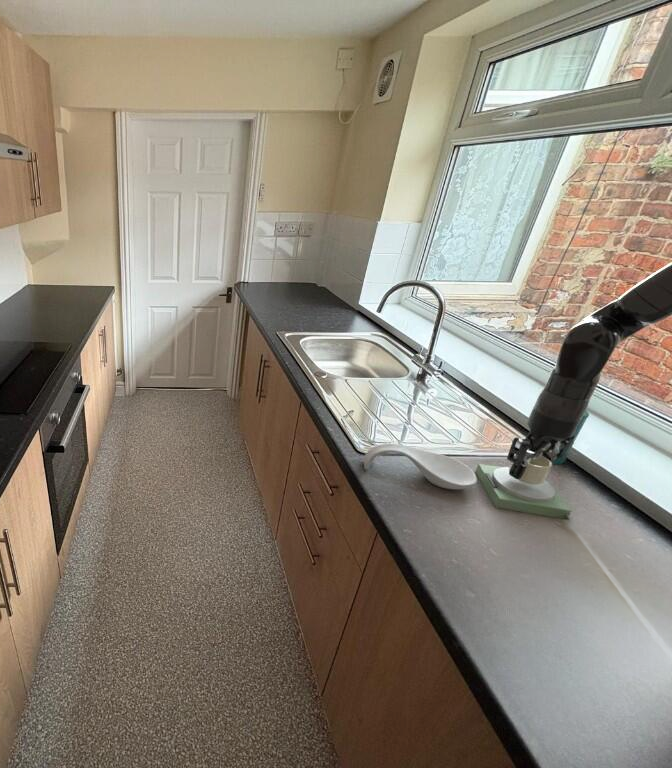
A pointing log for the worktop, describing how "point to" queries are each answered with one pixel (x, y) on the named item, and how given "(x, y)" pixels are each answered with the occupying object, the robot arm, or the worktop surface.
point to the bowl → (535, 470)
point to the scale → (521, 493)
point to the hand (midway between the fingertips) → (526, 474)
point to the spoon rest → (429, 465)
